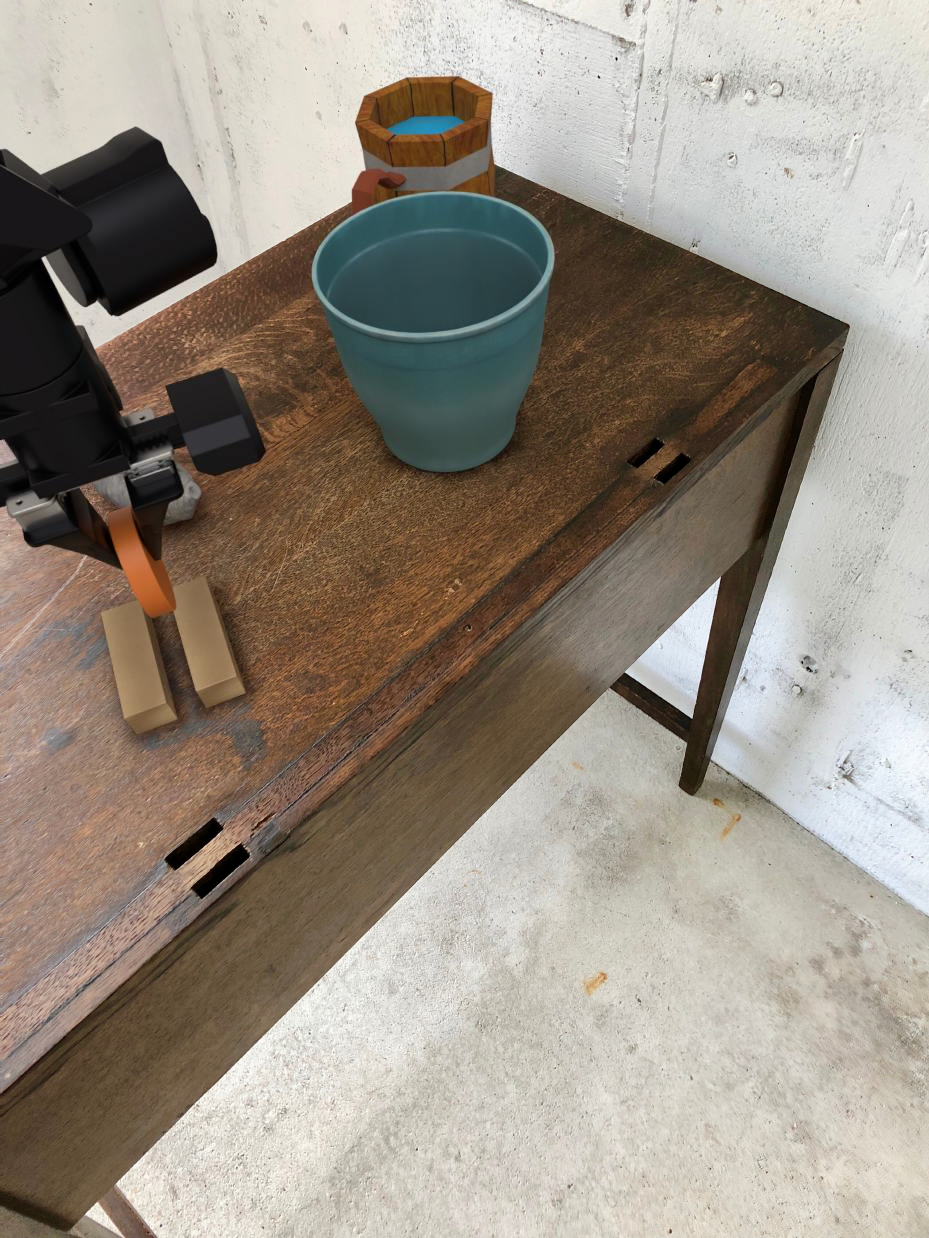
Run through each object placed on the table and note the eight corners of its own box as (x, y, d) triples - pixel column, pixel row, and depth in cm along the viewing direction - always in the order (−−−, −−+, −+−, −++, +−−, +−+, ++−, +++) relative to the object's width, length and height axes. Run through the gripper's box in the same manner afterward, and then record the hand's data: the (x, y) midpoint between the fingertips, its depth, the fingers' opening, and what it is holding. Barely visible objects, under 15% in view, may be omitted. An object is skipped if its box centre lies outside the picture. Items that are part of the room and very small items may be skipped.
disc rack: (137, 735, 62) (123, 718, 60) (113, 630, 68) (100, 612, 66) (246, 693, 64) (236, 675, 62) (214, 594, 69) (205, 575, 67)
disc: (162, 638, 56) (120, 574, 50) (140, 559, 59) (98, 490, 53) (185, 630, 56) (146, 564, 50) (161, 551, 60) (122, 482, 54)
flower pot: (558, 497, 73) (564, 324, 59) (344, 509, 74) (300, 342, 60) (543, 358, 83) (545, 183, 70) (355, 369, 84) (320, 199, 70)
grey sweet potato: (117, 414, 78) (88, 371, 70) (226, 515, 77) (209, 483, 70) (63, 462, 77) (27, 424, 69) (173, 565, 76) (149, 538, 68)
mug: (416, 208, 100) (399, 65, 88) (522, 234, 96) (521, 87, 83) (321, 306, 90) (288, 160, 78) (434, 339, 86) (418, 190, 74)
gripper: (176, 220, 48) (252, 432, 61) (-179, 322, 45) (-20, 524, 58) (226, 333, 42) (298, 543, 55) (-181, 461, 39) (-3, 652, 51)
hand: (142, 560), depth 55 cm, fingers closed on disc, 1 cm apart
